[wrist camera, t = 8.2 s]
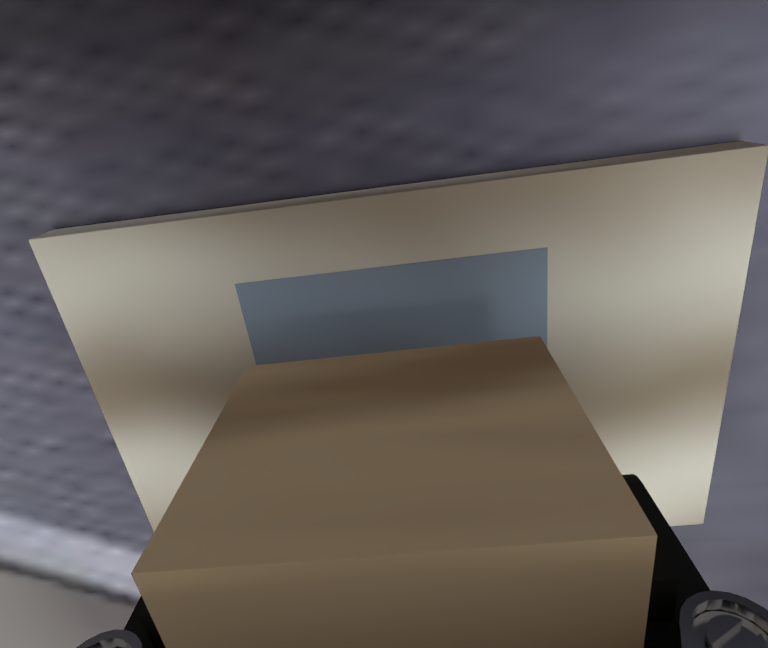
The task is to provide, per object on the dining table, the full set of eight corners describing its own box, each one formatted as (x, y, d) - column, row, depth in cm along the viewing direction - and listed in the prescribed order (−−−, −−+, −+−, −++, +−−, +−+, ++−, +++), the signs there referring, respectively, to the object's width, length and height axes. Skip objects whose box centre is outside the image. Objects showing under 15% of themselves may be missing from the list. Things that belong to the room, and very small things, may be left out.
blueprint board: (53, 229, 13) (26, 240, 12) (740, 140, 12) (770, 145, 11) (179, 539, 18) (167, 564, 17) (685, 499, 16) (703, 524, 15)
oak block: (246, 365, 11) (130, 574, 6) (539, 336, 10) (657, 535, 6) (302, 570, 13) (250, 828, 8) (540, 553, 13) (622, 816, 8)
